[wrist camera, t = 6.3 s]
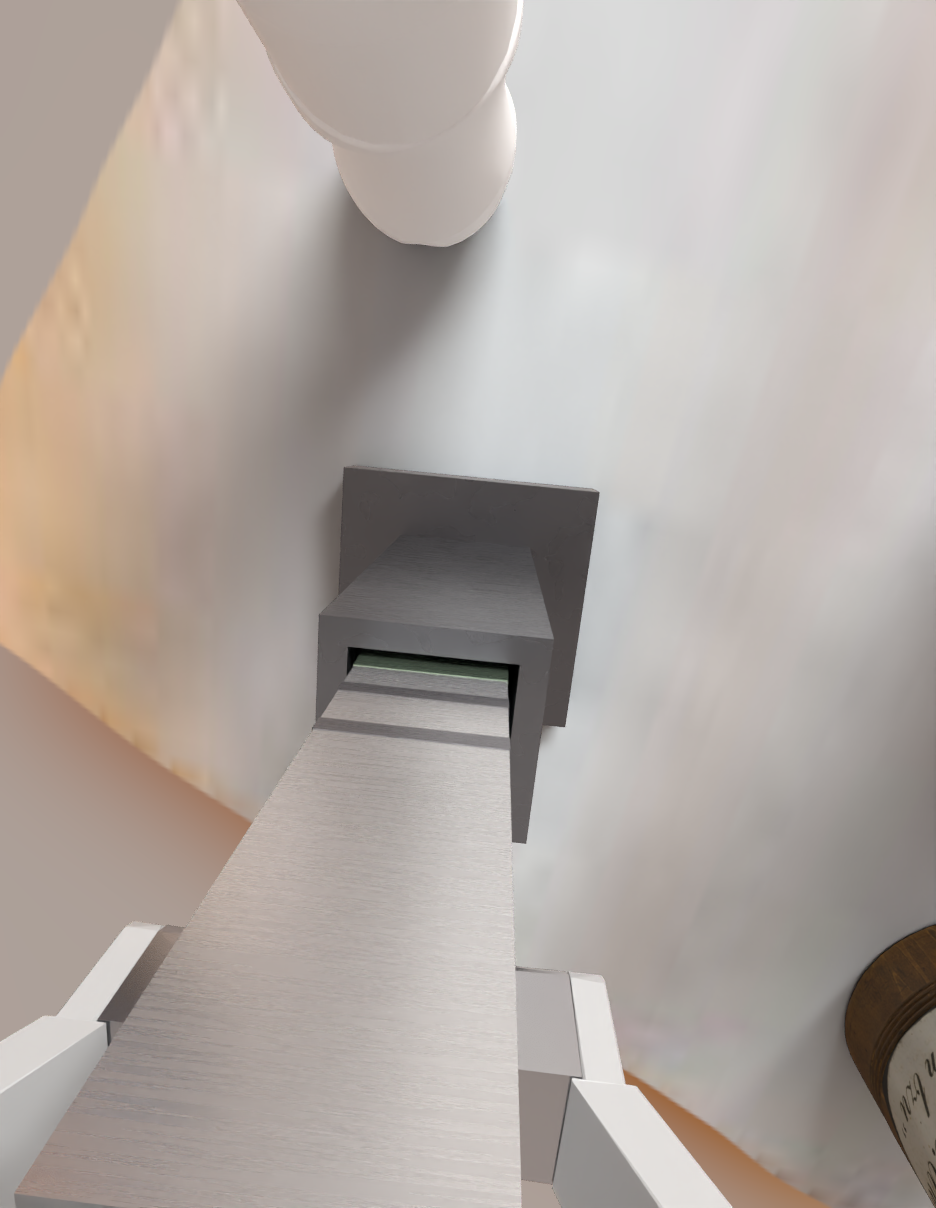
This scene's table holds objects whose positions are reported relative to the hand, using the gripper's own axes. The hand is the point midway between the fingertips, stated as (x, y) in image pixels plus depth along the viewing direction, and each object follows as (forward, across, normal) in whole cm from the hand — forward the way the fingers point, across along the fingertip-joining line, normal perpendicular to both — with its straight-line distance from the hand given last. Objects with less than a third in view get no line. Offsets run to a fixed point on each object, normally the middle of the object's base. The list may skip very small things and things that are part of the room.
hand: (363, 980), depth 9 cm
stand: (+24, 0, 0) cm, 24 cm away
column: (+16, 0, 0) cm, 16 cm away
